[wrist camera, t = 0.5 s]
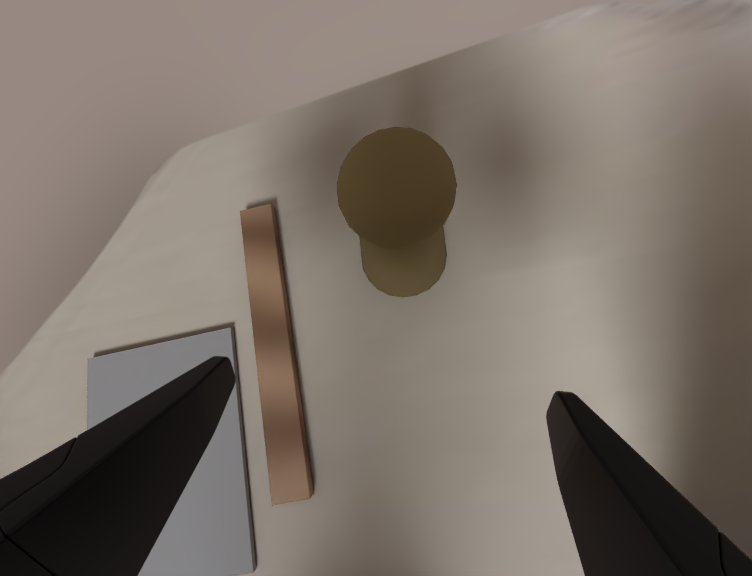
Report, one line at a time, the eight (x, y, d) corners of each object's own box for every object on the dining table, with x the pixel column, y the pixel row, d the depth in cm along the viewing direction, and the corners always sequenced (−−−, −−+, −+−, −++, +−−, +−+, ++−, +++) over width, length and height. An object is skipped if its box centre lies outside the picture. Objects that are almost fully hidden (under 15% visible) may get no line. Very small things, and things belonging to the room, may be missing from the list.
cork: (362, 217, 25) (322, 106, 14) (445, 214, 24) (469, 96, 13) (360, 297, 23) (313, 242, 13) (447, 297, 23) (476, 238, 12)
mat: (256, 568, 20) (253, 572, 20) (91, 596, 21) (85, 600, 21) (233, 327, 24) (230, 327, 24) (92, 358, 25) (87, 358, 24)
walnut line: (313, 493, 21) (309, 498, 20) (277, 500, 21) (272, 505, 20) (274, 208, 26) (270, 203, 25) (245, 215, 26) (240, 210, 25)
